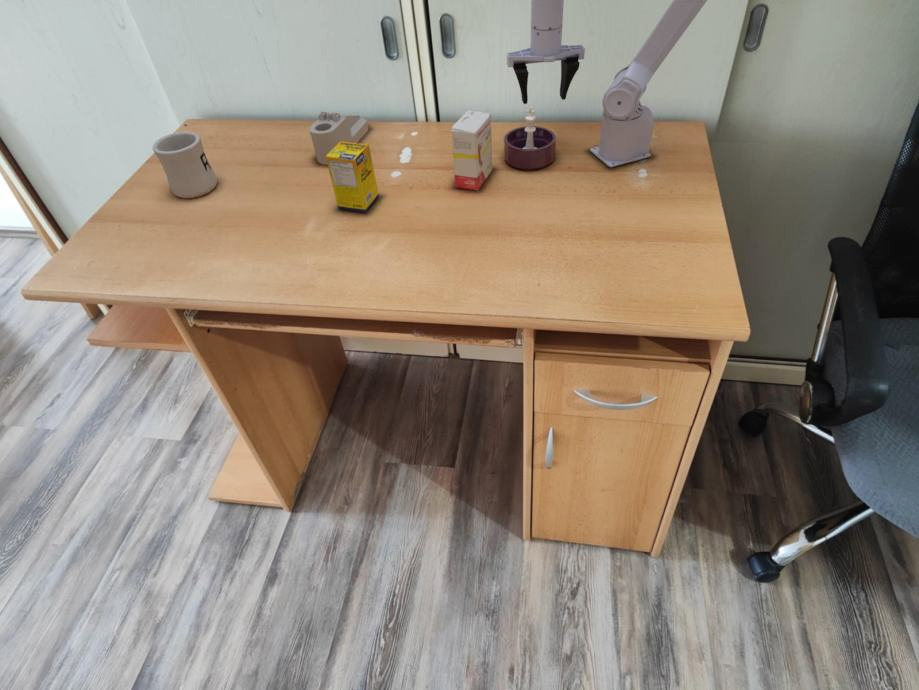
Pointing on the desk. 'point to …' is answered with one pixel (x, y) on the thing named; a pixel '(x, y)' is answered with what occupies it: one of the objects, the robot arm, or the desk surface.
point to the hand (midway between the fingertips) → (543, 99)
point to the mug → (185, 164)
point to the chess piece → (530, 128)
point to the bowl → (529, 157)
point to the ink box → (472, 149)
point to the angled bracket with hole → (335, 132)
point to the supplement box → (352, 176)
